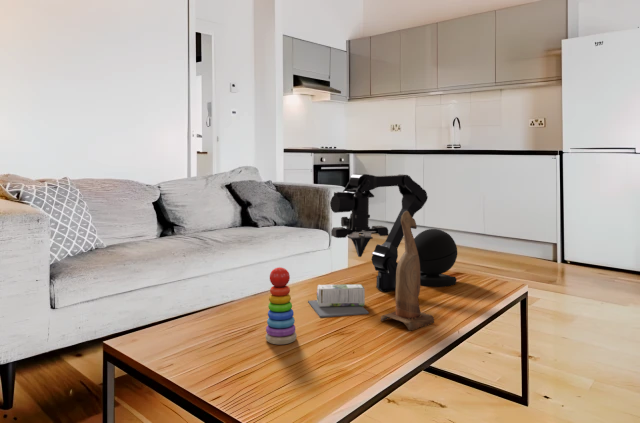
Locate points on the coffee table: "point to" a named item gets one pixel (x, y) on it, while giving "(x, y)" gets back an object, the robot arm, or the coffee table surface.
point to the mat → (336, 310)
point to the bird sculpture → (408, 282)
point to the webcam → (435, 257)
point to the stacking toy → (280, 310)
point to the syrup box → (341, 295)
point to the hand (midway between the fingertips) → (359, 256)
